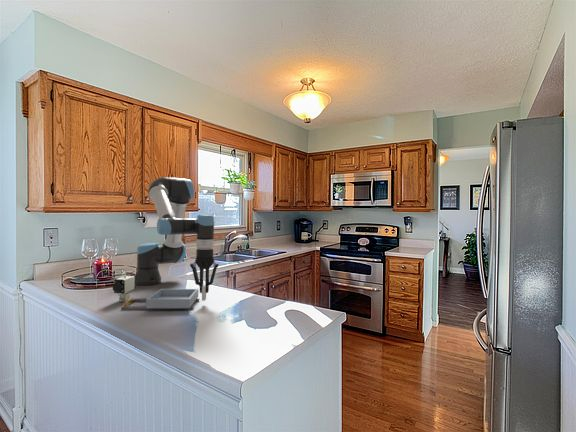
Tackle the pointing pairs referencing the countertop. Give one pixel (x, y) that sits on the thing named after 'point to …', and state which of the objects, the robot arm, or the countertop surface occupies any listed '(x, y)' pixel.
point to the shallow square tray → (172, 298)
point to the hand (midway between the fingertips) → (204, 299)
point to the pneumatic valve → (124, 286)
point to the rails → (132, 300)
